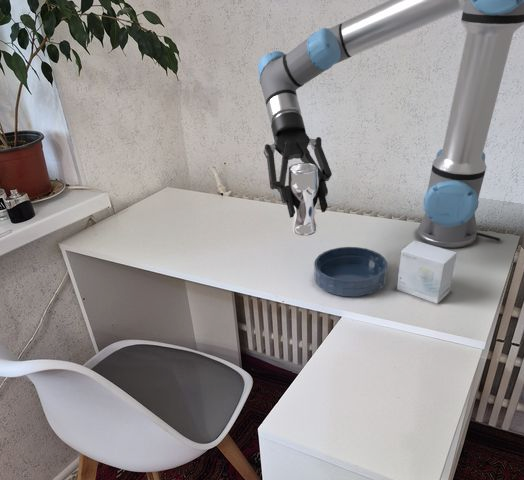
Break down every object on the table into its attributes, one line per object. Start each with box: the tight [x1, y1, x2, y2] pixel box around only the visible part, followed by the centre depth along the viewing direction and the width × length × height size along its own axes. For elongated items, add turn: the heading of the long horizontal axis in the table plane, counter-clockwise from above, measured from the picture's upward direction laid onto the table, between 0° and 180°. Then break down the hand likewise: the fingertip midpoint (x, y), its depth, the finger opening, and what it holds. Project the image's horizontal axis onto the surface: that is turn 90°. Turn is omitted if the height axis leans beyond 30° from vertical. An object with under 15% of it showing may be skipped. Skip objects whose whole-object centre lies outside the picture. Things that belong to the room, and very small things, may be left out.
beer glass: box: [287, 162, 319, 237], centre depth 118 cm, size 7×7×15 cm
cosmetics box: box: [396, 240, 458, 304], centre depth 115 cm, size 10×6×10 cm, turn 48°
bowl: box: [313, 246, 388, 297], centre depth 123 cm, size 17×17×4 cm
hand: (308, 212), depth 116 cm, fingers closed on beer glass, 7 cm apart
